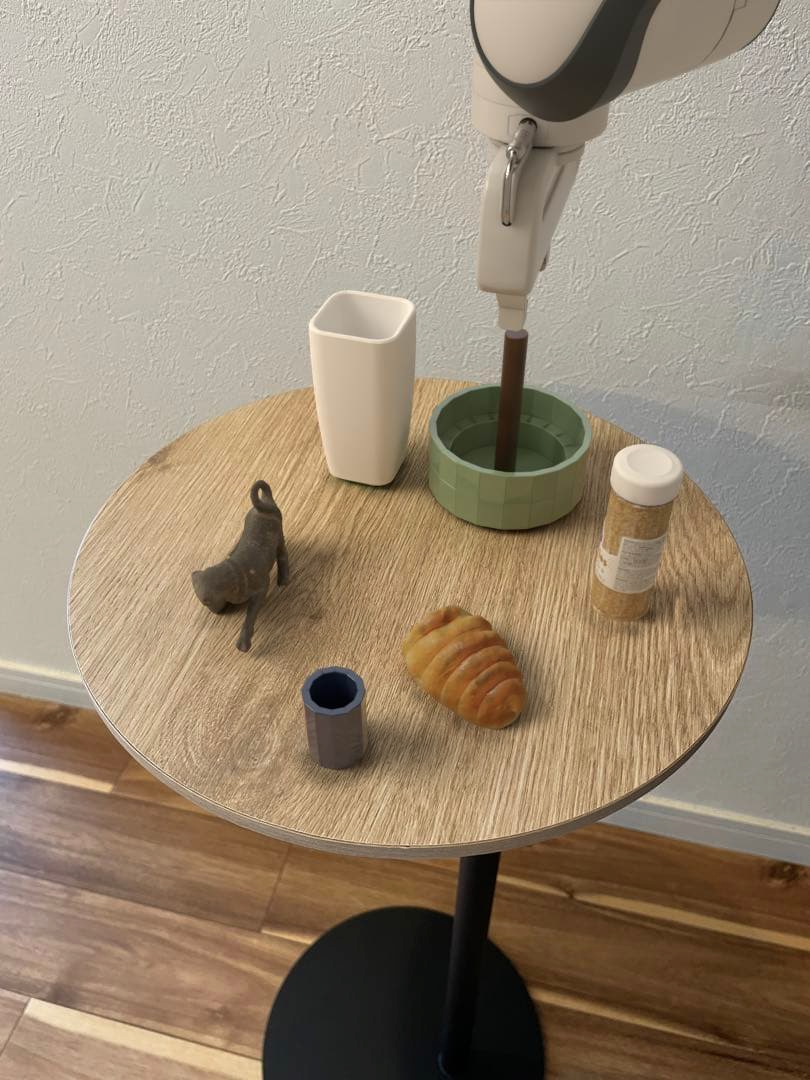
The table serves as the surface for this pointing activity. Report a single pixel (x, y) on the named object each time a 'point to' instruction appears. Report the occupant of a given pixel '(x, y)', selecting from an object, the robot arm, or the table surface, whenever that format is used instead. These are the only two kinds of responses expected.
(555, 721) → the table surface
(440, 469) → the bowl
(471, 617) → the pastry
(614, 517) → the tan spice jar
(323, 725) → the holder
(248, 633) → the dog figurine
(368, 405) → the cup
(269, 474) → the table surface
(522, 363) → the stick
